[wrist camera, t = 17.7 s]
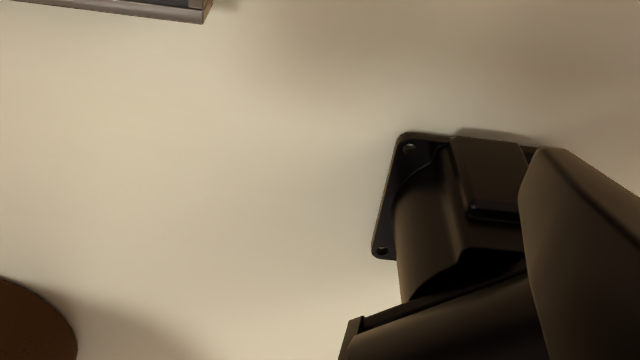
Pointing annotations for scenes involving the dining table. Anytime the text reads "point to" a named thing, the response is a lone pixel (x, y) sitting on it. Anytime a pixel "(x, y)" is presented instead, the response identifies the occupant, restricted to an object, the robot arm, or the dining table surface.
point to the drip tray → (141, 8)
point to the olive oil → (32, 328)
